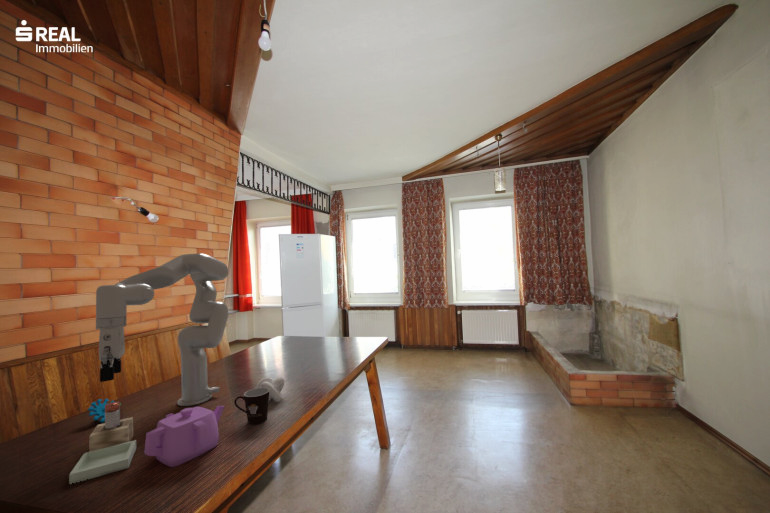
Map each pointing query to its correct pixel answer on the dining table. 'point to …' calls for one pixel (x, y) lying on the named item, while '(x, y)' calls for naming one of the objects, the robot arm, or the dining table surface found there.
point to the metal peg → (112, 415)
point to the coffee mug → (255, 405)
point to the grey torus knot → (272, 387)
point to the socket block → (111, 435)
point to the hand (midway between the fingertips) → (111, 376)
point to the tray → (103, 461)
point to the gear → (98, 409)
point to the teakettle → (184, 435)
